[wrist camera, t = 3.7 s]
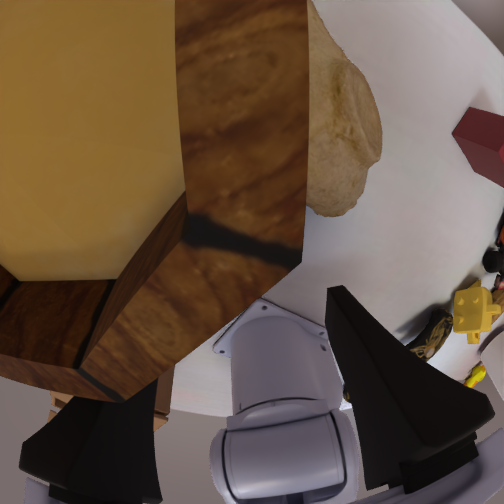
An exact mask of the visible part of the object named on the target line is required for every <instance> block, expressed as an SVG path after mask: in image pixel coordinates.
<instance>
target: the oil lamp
mask: <svg viewBox="0 0 504 504" xmlns="http://www.w3.org/2000/svg"><path fill="white" fill-rule="evenodd" d="M307 10H308V32H309V148H308V174H307V194H306V205H307V206H309V207H310V208H312V209H313V210H314V212H315V213H316V214H317V215H318V214H319V215H322V216H324V217H328V216H329V217H336V216H342V215H344V214H345V213H346V212H347V211H348V210H350V209H352V208H353V207H354V206H355V205H356V204H357V200H358V198H359V197H360V196H361V194H362V193H363V191H364V187H365V183H366V178H367V173H368V169H369V168H370V167H371V166H372V165H373V164H374V163H376V162H378V161H379V160H380V156H381V151H382V128H381V121H380V117H379V113H378V109H377V106H376V103H375V100H374V97H373V94H372V92H371V89H370V87H369V84H368V83H367V81H366V79H365V77H364V75H363V74H362V73H361V71H360V70H359V69H358V68H357V67H356V66H355V65H354V64H352V63H351V62H350V60H349V59H347V57H346V56H345V54H344V52H343V50H342V49H341V48H340V47H339V46H338V45H337V44H336V42H335V41H334V40H333V38H332V37H331V36H330V34H329V32H328V31H327V29H326V27H325V26H324V23H323V21H322V19H321V18H320V17H319V14H318V12H317V10H316V8H315V6H314V4H313V2H312V1H311V0H307Z"/></svg>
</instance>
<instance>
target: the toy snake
mask: <svg viewBox="0 0 504 504" xmlns="http://www.w3.org/2000/svg"><path fill="white" fill-rule="evenodd" d="M452 326H453V317H452V314H451V313H450V312H449V311H448V310H446V309H443V308H437V309H435V310H434V311H433V312H432V315H431V317H430V319H429V322H428V324H427V325H426V327H425V328H424V329H423V331H422V332H421V333H420V334H419V335H418V336H417V337H416V338H415V339H414V340H413V341H411V342H410V343H408V344H407V345H406V347H407V348H408V349H409V350H411V351H412V352H413V353H414V354H416V355H417V356H418V357H420V358H421V359H422V360H424V361H425V362H427V361H428V360H429V359H430V358H431V357H433V356H434V355H435V353H436V352H437V351H438V350H439V349H440V348H441V347H442V345H443V344H444V342H445V340H446V339H447V337H448V336H449V334H450V333H451V330H452ZM343 398H344V399H345V400H346V401H347V402H349V403H351V400H350V397H349V393H348V390H347V388H346V386H345V388H344V391H343Z"/></svg>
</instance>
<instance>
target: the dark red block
mask: <svg viewBox="0 0 504 504" xmlns="http://www.w3.org/2000/svg"><path fill="white" fill-rule="evenodd" d="M452 135H453V137H454V138H455V140H456V141H457V143H458V144H459V146H460V148H461V149H462V151H463V153H464V154H465V156H466V158H467V159H468V161H469V163H470V165H471V166H472V168H473V170H474V172H476V173H478V174H480V175H482V176H484V177H486V178H487V179H489V180H491V181H493V182H495V183H496V184H498V185H500V186H501V187H503V188H504V116H501V115H498V114H494V113H491V112H487V111H483V110H480V109H476V108H472V107H469V109H468V110H467V112H466V113H465V115H464V116H463V118H462V119H461V121H460V122H459V124H458V125H457V127H456V128H455V130H454V131H453V133H452Z"/></svg>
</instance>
